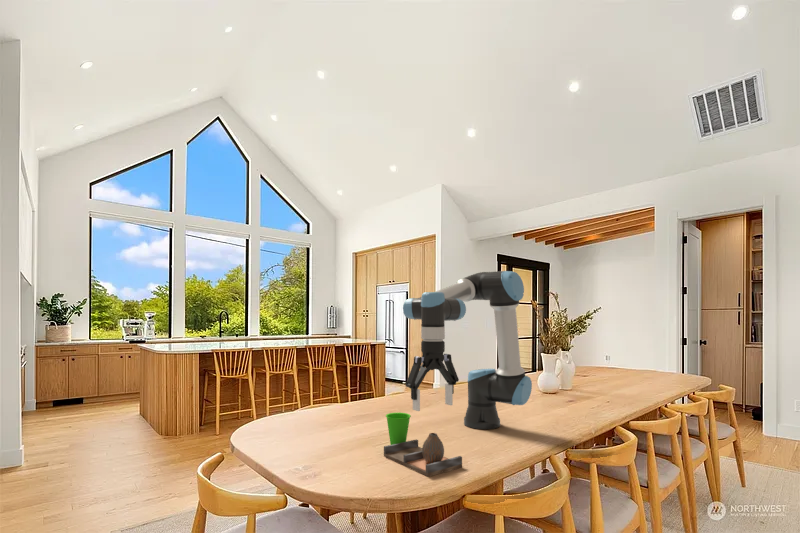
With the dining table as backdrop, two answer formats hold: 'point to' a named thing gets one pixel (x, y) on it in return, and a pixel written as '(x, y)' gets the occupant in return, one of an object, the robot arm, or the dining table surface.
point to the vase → (433, 449)
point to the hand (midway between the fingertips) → (433, 407)
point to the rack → (419, 459)
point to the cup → (398, 427)
